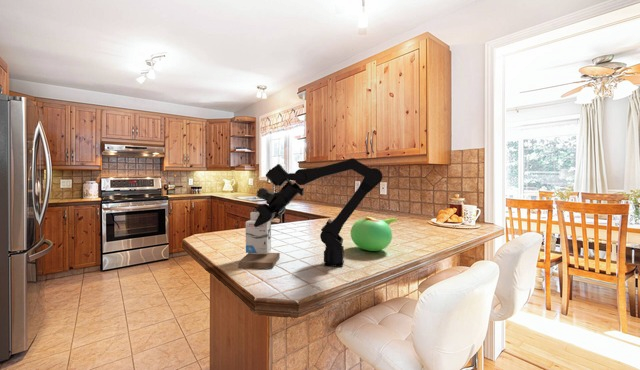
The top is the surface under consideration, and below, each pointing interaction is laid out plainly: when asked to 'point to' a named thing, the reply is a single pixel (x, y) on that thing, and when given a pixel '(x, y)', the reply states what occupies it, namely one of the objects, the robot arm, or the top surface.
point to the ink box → (258, 236)
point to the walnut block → (259, 260)
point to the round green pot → (372, 233)
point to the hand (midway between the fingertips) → (257, 225)
